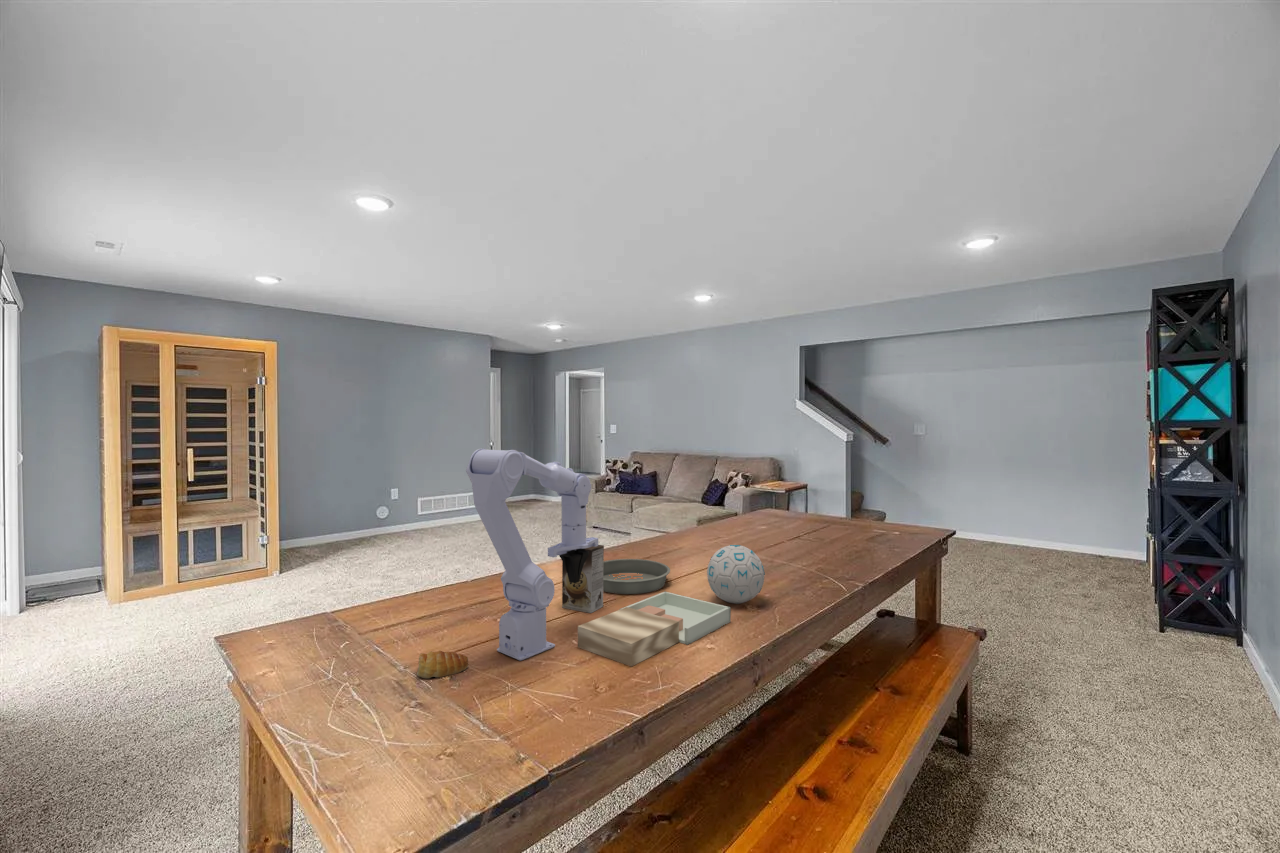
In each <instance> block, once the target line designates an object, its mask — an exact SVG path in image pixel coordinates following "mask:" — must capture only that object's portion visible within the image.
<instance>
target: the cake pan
mask: <svg viewBox="0 0 1280 853" xmlns="http://www.w3.org/2000/svg"><path fill="white" fill-rule="evenodd" d="M619 573H637V574H638V573H639V574H643V575H642V576H633V577H643V579H641V578H637V579H629V580H621V579H625V578H631V576H627V577H621V576H625V575H621V576H618V577H621V578H618V577H613V575H612V574H619ZM670 573H671V568H670V567H669V566H668V565H666V564H665V563H663V562H659V561H656V560H655V561H654V560H651V559H642V558H641V559H640V558H617V559H610V560H604V565H603V592H606V593H611V594H618V595H620V594H621V595H636V594H639V595H641V594H647V593H650V592H651V593H652V592H655V591H658V590H660V589H662V588H663V587H665V583H666V581H667V580H666V579H667V576H668V575H669V574H670ZM609 575H610V576H609ZM615 578H617V579H615ZM614 579H615V580H614Z"/></svg>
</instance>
